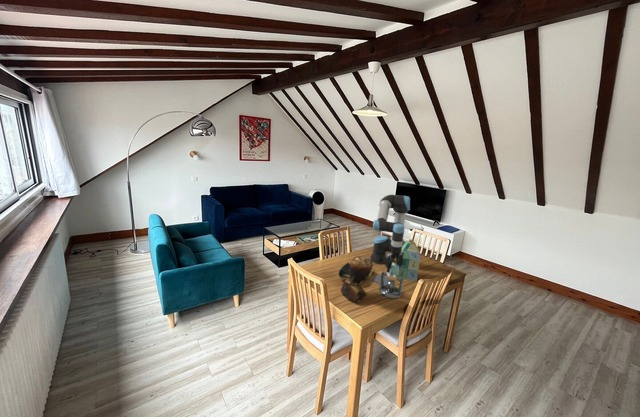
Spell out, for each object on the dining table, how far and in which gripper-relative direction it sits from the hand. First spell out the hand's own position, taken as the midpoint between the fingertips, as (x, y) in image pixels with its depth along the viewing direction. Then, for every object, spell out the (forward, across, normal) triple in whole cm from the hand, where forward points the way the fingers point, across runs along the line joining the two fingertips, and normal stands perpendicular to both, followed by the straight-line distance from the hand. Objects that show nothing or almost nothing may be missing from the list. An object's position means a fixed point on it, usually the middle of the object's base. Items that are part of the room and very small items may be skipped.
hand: (392, 274), depth 200 cm
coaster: (+15, +5, +16) cm, 23 cm away
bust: (+15, -26, +8) cm, 31 cm away
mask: (+15, -12, +31) cm, 36 cm away
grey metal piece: (+14, 0, 0) cm, 14 cm away
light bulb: (-1, 0, 0) cm, 1 cm away
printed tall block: (+15, +31, +16) cm, 38 cm away
